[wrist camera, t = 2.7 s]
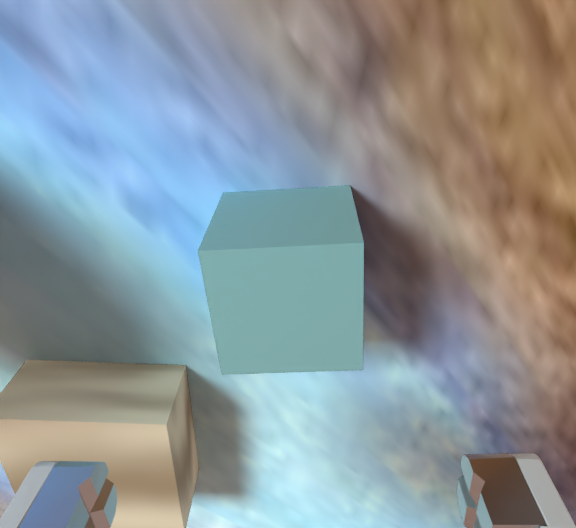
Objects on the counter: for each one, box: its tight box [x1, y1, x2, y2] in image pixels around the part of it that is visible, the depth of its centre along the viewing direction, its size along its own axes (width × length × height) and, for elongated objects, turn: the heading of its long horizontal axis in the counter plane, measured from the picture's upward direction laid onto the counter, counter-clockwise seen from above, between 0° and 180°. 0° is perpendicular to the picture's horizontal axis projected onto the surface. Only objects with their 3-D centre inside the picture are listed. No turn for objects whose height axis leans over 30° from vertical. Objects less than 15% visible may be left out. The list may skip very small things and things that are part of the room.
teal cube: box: [198, 185, 364, 375], centre depth 17 cm, size 5×5×5 cm
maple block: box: [0, 360, 199, 528], centre depth 23 cm, size 8×8×4 cm
